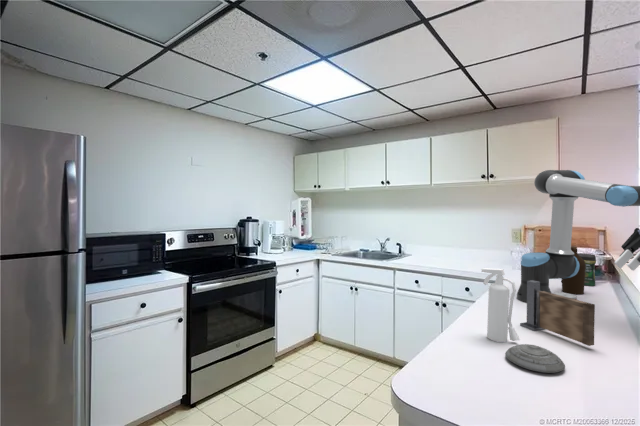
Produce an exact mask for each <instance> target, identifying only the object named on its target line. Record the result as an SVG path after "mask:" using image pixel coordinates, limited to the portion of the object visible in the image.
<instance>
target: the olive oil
mask: <svg viewBox="0 0 640 426" xmlns="http://www.w3.org/2000/svg"><path fill="white" fill-rule="evenodd" d="M571 250H572V251H573V252H574V257H576V258H577V261H579V265H580V267H579V271H578V273H577V274H576V275H575V276H573V277H570V278H565V279H561V281H560V282H561V291H562V293H568V294H572V295H575V296H577V295H578V296H579V295H582V296H583V295H584V293H585V285H584V283H585V270H586V264H585V261H584V260H583V259H582V258H581V257H580V256H579V255H578V246H576V245H574V246H573V245H571Z"/></svg>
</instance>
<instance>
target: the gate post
mask: <svg viewBox="0 0 640 426" xmlns="http://www.w3.org/2000/svg"><path fill="white" fill-rule="evenodd" d="M538 290H539V291H540V282H538V281H534V280H530V281H527V302H526V321H525V322H521V323H519V326H520V327H522V328H525V329H527V330H530V331H532V332H537V331H543V330H544V331H545V330H546V329H543V328H541V327H539V326H537V291H538Z"/></svg>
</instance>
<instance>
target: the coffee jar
mask: <svg viewBox="0 0 640 426" xmlns="http://www.w3.org/2000/svg"><path fill="white" fill-rule="evenodd" d="M577 254H578V255H579V256H580V257H581V258H582V259H583V260H584V261H585V264H586V270H585V283H584V286H585V287H586V286H588V287H594V286H596V274H595V273H596V272H595V267H596V263H597V258H596V255H595V254H592V253H578V252H577Z"/></svg>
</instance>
